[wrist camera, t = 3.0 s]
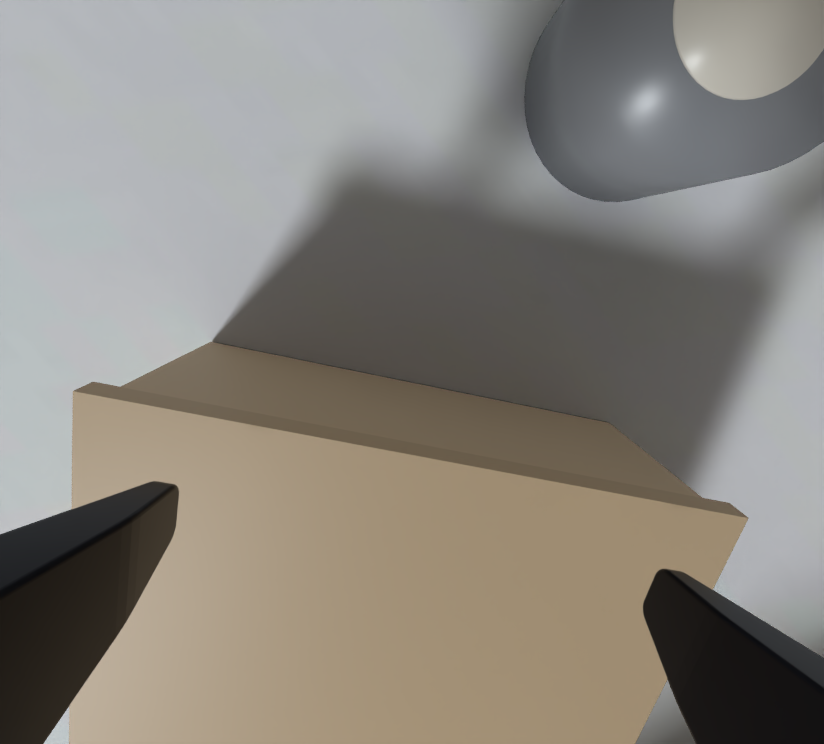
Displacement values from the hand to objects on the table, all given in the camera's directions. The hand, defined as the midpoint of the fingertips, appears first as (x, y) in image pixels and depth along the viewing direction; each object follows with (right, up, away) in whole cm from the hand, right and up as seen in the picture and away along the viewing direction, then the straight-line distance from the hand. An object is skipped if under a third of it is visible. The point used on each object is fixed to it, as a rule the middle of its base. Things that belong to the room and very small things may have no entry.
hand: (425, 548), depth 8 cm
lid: (-1, -5, +4) cm, 6 cm away
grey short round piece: (+6, +11, +5) cm, 14 cm away
